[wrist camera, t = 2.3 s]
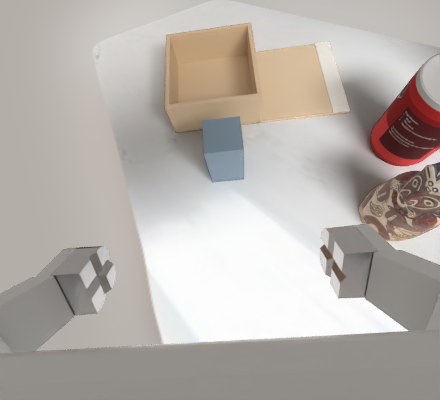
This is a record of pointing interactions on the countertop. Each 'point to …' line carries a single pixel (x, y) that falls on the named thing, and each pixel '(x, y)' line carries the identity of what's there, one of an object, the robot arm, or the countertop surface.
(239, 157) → the blue rectangular block
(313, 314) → the countertop surface
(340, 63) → the countertop surface
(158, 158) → the countertop surface
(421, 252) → the countertop surface
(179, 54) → the mailer box
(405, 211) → the figurine
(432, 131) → the canned food
